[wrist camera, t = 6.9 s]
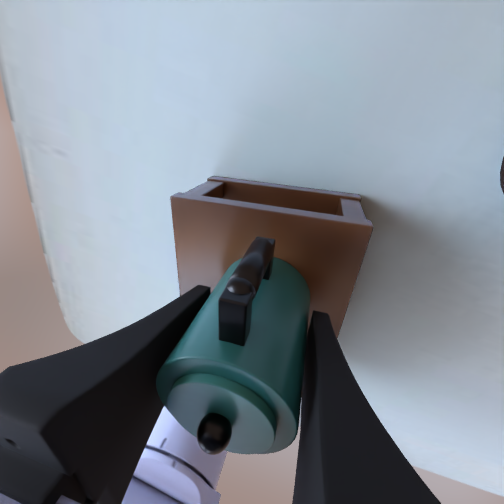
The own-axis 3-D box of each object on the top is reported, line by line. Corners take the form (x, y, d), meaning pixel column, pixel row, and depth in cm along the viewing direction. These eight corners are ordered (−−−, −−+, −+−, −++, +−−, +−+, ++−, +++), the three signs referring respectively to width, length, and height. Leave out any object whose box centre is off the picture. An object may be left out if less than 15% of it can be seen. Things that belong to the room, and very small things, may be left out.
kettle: (296, 363, 14) (273, 539, 8) (222, 343, 15) (153, 488, 9) (326, 228, 10) (326, 384, 4) (222, 212, 11) (99, 320, 5)
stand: (318, 341, 20) (316, 402, 16) (214, 315, 22) (186, 363, 17) (360, 194, 14) (374, 226, 10) (212, 175, 16) (169, 196, 12)
